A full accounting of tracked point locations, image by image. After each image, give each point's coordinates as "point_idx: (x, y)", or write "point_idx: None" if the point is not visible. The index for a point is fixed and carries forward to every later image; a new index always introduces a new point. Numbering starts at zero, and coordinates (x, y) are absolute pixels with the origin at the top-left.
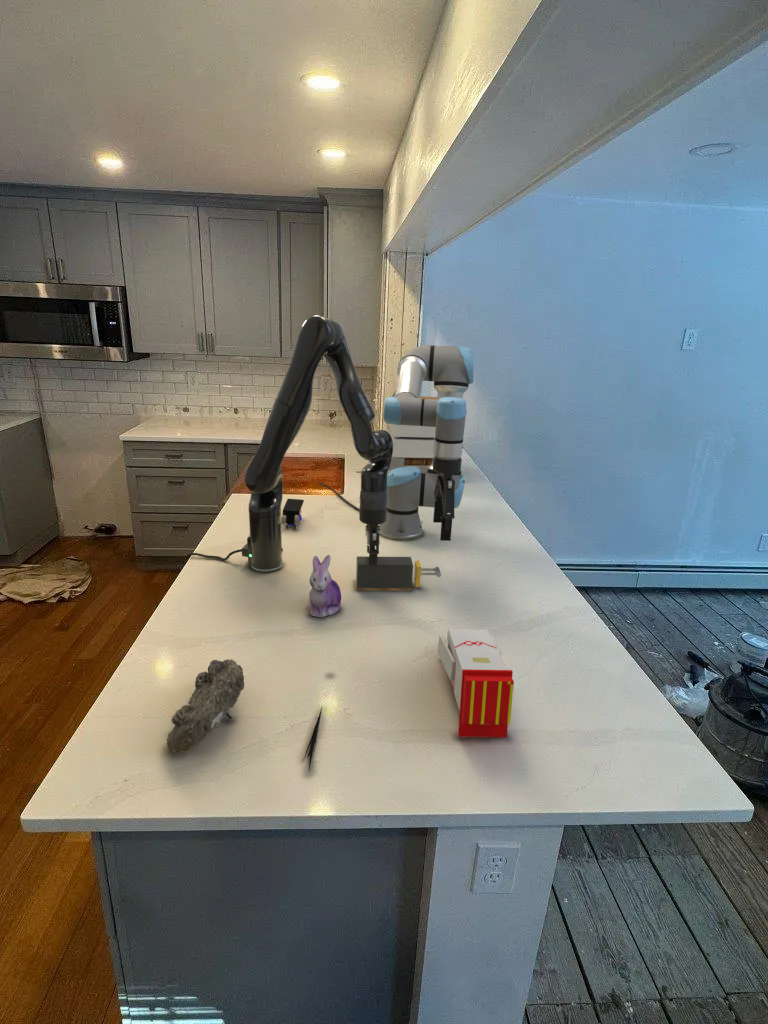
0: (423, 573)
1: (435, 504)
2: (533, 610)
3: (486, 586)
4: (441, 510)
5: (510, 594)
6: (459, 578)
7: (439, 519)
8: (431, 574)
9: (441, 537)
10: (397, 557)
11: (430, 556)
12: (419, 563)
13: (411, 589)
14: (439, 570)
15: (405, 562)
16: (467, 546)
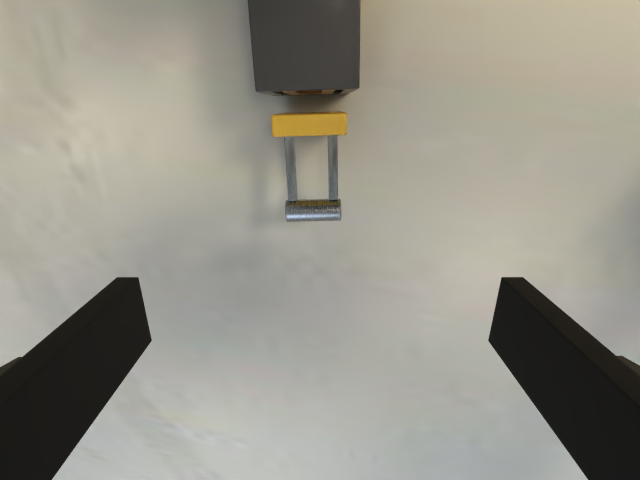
0: (286, 147)
1: (632, 407)
2: (192, 417)
3: (318, 342)
4: (555, 406)
5: (273, 389)
6: (373, 278)
7: (506, 333)
8: (287, 181)
9: (101, 295)
10: (348, 1)
11: (564, 206)
12: (310, 132)
13: (273, 95)
14: (308, 219)
15: (283, 48)
16: (618, 343)
